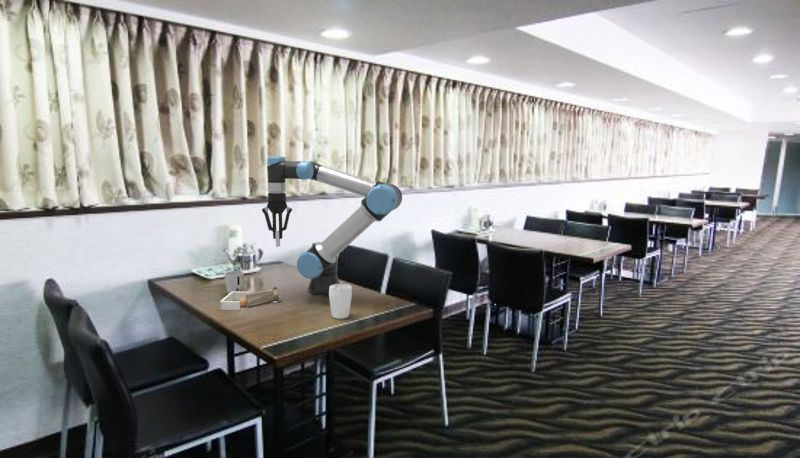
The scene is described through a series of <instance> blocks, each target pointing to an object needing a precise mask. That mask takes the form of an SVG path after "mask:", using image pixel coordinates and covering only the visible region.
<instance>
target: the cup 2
mask: <svg viewBox="0 0 800 458" xmlns="http://www.w3.org/2000/svg"><path fill="white" fill-rule="evenodd" d="M328 297H329V298H328V299H329V305H330V306H329V307H330V311H331V317H332V318H334V319H338V320H340V319H341V320H342V319H347V318H349V317H350V309H351V303H352V297H353V286H352V285H351V284H347V283H340V284H334V285H331V286H330V287H329V296H328Z"/></svg>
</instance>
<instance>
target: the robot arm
mask: <svg viewBox="0 0 800 458" xmlns="http://www.w3.org/2000/svg"><path fill="white" fill-rule="evenodd" d="M266 160H267V161H266V162H267V163H266V165H267V166H266V169H267V192H268V193H267V204H266V206H265V207H264V208H262V209H261V211H262V213H263V215H264V218H265V222H266V225H267V229H268V231H272V239H273V240H275V248H279V247H280V246H281V240H282V239H283V232H284V231H286V230H287V229H288V224H289V220H290V216H291V213H292V212H293V208H292V207H290V206H288V204H287V193H285V192H286V191H287V189H286V188H287V187H286V184H287V183H286V180H288V179H289V180H302V181H303V180H312V181H316V182H319V183H322V184H325V185H328V186H331V187H334V188H336V189H340V190H343V191H346V192H348V193H352V194H355V195H358V196H361V197H364V198H363V199H362V200H361V201H360V207H358V208H357V209H356V210H355V211H354V212H353V213H352V214H351V215H350V216H348V217H347V218H346V219H345V220H344V221H343V222H342V223H341V224H340V225H339V226H338V227H337V228H336V229H334V230H333V231H332V232H331V233H330V234H329V235H328V236H327V237H326V238H325V239H324V240H323V241H316V242H312V243H311V247H310V248H309V249H307V250H306V251H305V252H302V253H301V254H300V255H299V256H298V257H297V260H296V267H297V271H298V272H299V274H300V275H301V276H302V277H304V278H306V279H309V284H308V287H307V293H308V294H311V296H312V295H313V296H319V297H322V296H323V297H329V287H330V286H331V285H334V284H341V283H340V280H339V277H338V255H340V254H341V252H343V251H344V250H346V248H347V247H348V246H349V245H351V244H352V242H354V241H355V240H356V239H357V238H358V237H359V236H360V235H361V234H363V233H364V232H365V231H366V230H367V229H368V228H369V227H370V226H371V225H373V224H374V223H375V222H381V221H383V220H384V219H385V218H386V217H387V216H388V215H389V214H391V212H392V211H394V210H396V209H397V208H399V206H400V205H402V204H401V203H402V202H403V201H402V200H403V193H402V191H401V189H400V188H399V187H398V186H397V185H395V184H392V183H386V182H383V181H379V180H375V181H372V180H369V179H365V178H363V177H359V176H357V175H354V174H350V173H348V172H347V173H346V172H344V171H341V170H338V169H335V168H332V167H329V166H326V165H323V164H319V163H318V162H316V161H312V160H311V161H304V160H303V161H301V160H300V161H299V160H298V161H296V160H295V161H294V160H293V161H289V160H286V157H285V156H277V155H276V156H275V155H274V156H268V157H267V159H266ZM285 210H286V211H285ZM269 211H270V213H271V215H272V223H271V219H270V218H271V217H270V216H269ZM284 212H286V215H285V219H284V224H283V213H284ZM277 216H278V230H277Z"/></svg>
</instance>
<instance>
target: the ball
mask: <svg viewBox="0 0 800 458" xmlns="http://www.w3.org/2000/svg"><path fill="white" fill-rule="evenodd" d="M237 301H240V308H243V307H245V306H247V305H246V299H245V298H241V299H239V300H237Z"/></svg>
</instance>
